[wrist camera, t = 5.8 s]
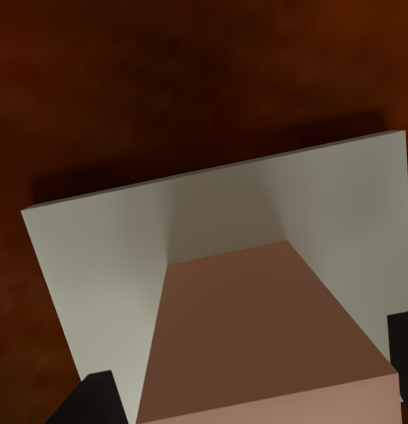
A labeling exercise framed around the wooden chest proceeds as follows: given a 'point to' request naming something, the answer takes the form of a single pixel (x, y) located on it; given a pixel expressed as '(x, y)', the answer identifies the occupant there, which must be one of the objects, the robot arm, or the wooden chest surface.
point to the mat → (225, 243)
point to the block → (261, 348)
